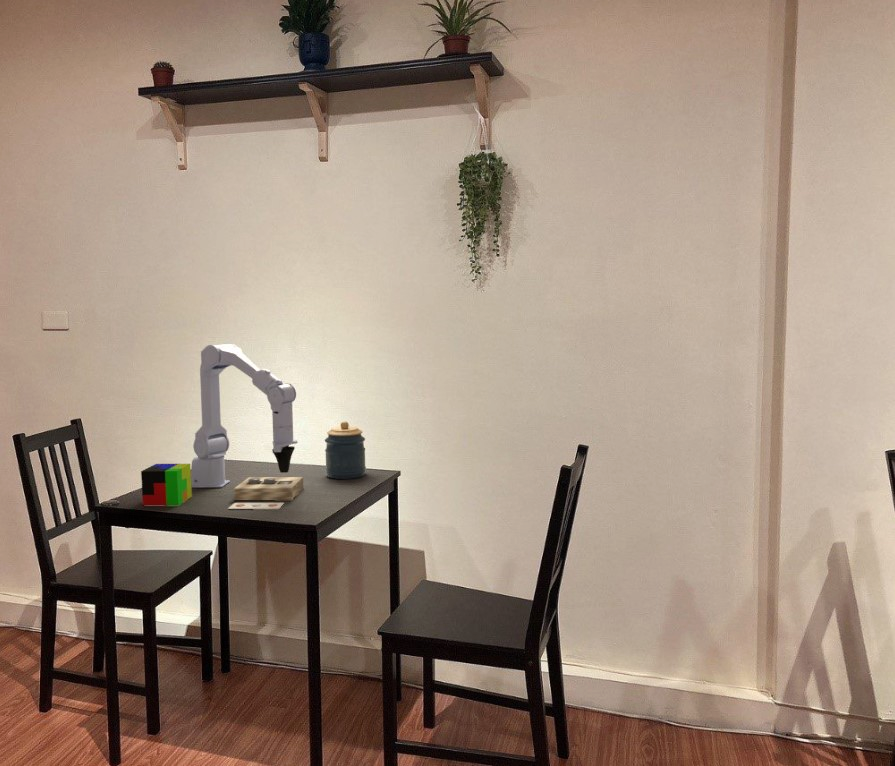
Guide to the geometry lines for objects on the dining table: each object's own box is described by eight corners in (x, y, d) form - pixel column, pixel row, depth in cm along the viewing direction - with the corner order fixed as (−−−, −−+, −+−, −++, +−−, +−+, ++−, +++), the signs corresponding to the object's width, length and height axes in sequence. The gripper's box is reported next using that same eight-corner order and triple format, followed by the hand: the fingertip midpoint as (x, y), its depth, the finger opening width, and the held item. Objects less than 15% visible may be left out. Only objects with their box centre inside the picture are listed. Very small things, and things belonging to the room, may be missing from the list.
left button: (247, 487, 220) (247, 480, 220) (250, 484, 223) (250, 478, 223) (258, 487, 220) (258, 480, 220) (261, 484, 223) (261, 478, 223)
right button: (278, 491, 220) (277, 484, 219) (281, 488, 223) (280, 482, 223) (289, 491, 219) (288, 484, 219) (291, 488, 223) (291, 481, 222)
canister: (359, 480, 238) (358, 424, 236) (320, 479, 240) (318, 424, 239) (370, 471, 251) (369, 418, 249) (333, 470, 253) (331, 418, 251)
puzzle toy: (157, 497, 220) (156, 463, 219) (191, 497, 219) (190, 463, 218) (142, 506, 210) (141, 471, 209) (178, 506, 209) (176, 471, 208)
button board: (234, 500, 215) (233, 488, 214) (249, 488, 229) (248, 477, 228) (292, 500, 214) (291, 488, 214) (303, 488, 228) (303, 477, 228)
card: (227, 509, 205) (227, 508, 205) (234, 503, 211) (234, 502, 211) (279, 509, 205) (278, 508, 205) (284, 503, 211) (284, 502, 211)
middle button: (262, 487, 220) (262, 480, 219) (265, 484, 223) (265, 478, 223) (273, 487, 220) (273, 480, 219) (276, 484, 223) (276, 478, 223)
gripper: (290, 430, 212) (291, 477, 213) (302, 422, 226) (303, 466, 228) (265, 430, 212) (267, 477, 214) (278, 422, 227) (280, 466, 228)
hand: (284, 472), depth 221 cm, fingers closed
